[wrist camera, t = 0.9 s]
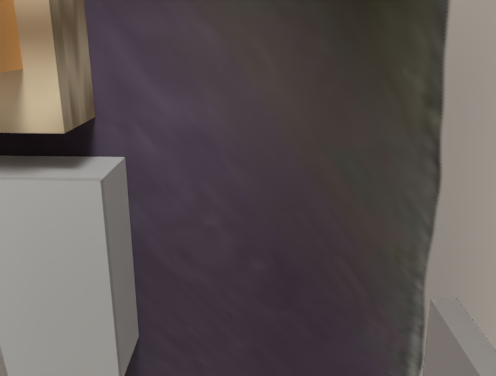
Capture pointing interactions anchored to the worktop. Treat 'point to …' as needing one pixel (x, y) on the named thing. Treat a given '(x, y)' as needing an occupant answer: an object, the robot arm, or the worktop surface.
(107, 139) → the worktop surface
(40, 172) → the dock
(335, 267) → the worktop surface
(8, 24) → the orange square block
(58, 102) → the pallet
